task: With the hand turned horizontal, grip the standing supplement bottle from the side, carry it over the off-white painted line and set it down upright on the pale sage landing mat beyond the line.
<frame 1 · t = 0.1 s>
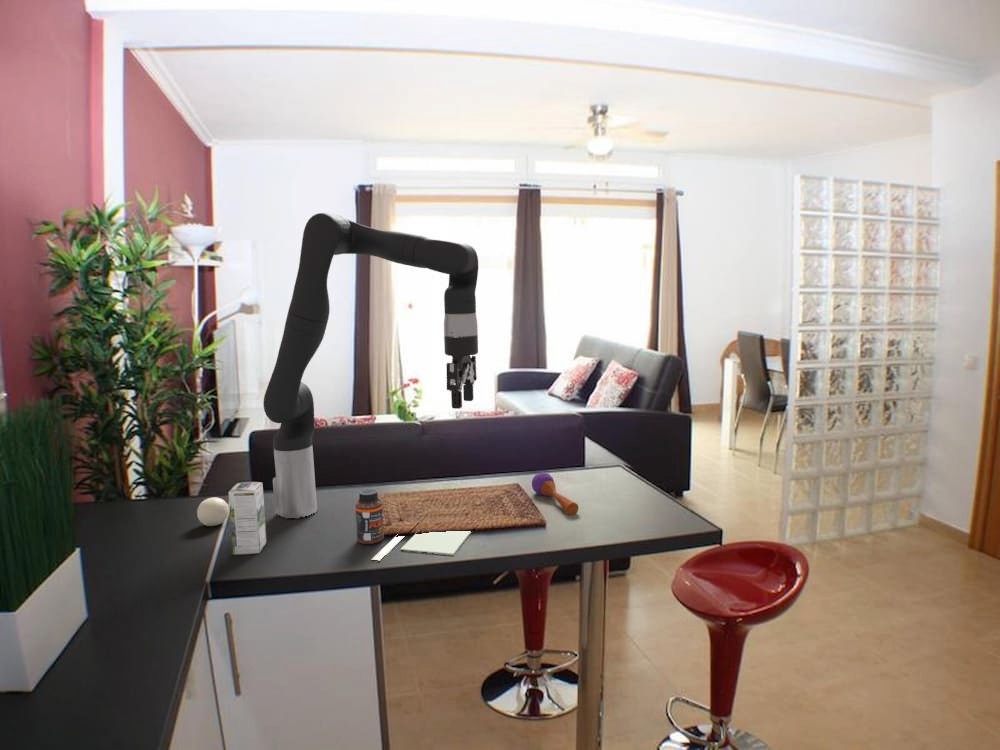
hand: (462, 404, 150), 29 cm above the worktop, tool pointing down, fingers open, 8 cm apart
landing mat: (439, 538, 147), on the worktop
supplement bottle: (370, 540, 148), on the worktop
syrup box: (250, 550, 144), on the worktop
purple and orange maraca: (554, 503, 169), on the worktop
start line: (397, 540, 147), on the worktop
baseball: (215, 525, 160), on the worktop
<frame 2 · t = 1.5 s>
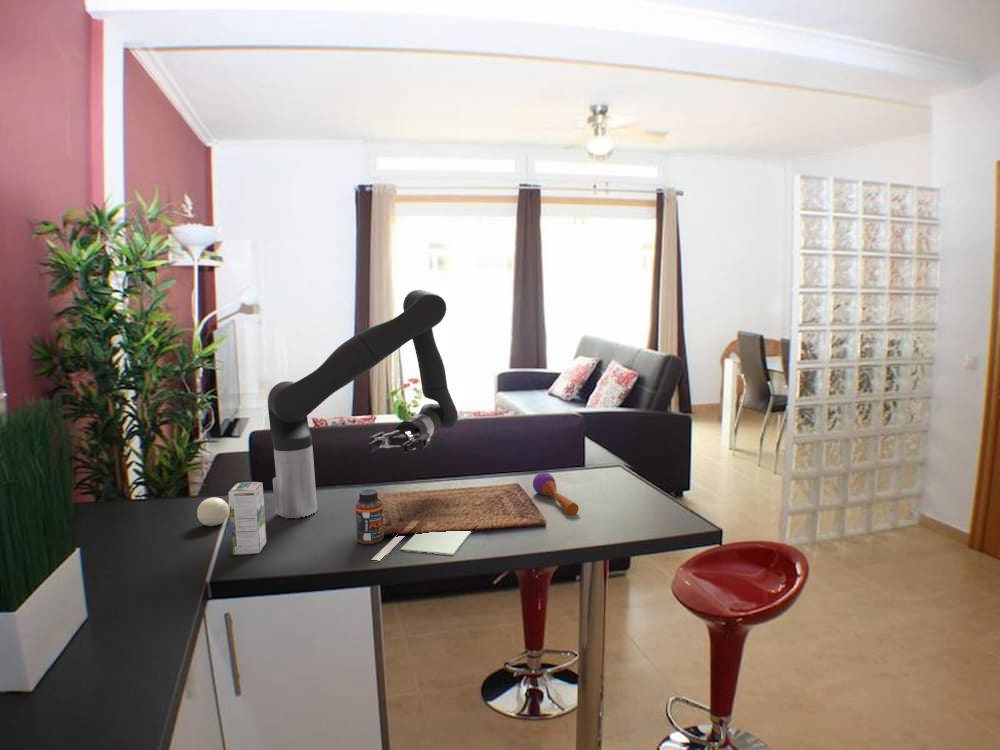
hand: (386, 448, 155), 18 cm above the worktop, tool horizontal, fingers open, 8 cm apart
nothing on the worktop moved.
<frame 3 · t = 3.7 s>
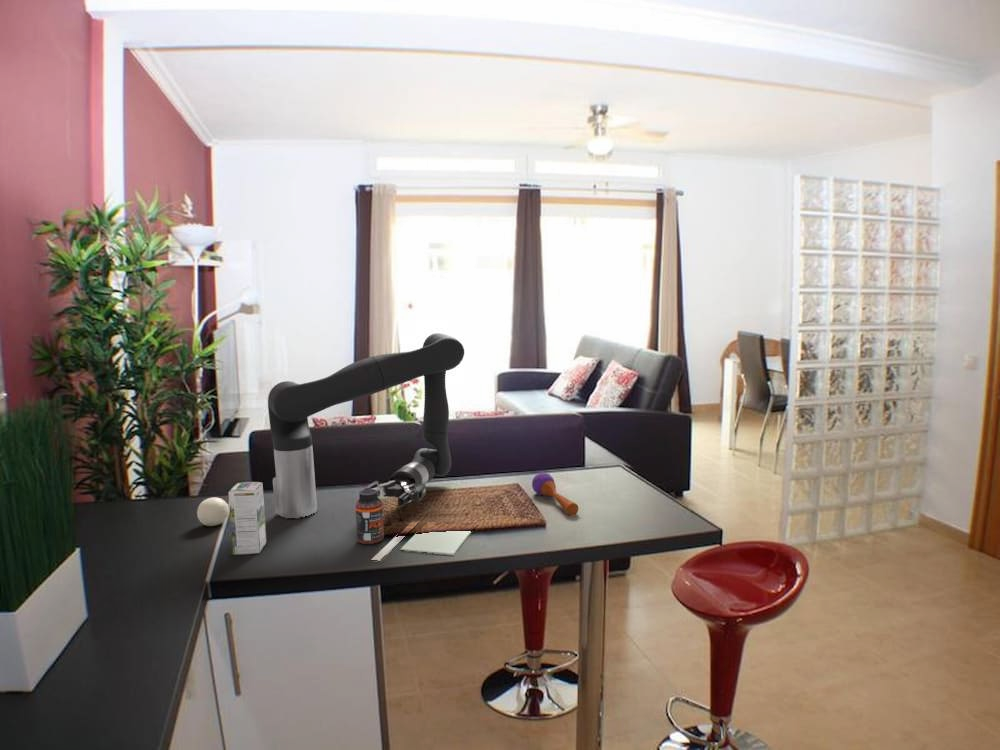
hand: (382, 501, 153), 7 cm above the worktop, tool horizontal, fingers open, 8 cm apart
nothing on the worktop moved.
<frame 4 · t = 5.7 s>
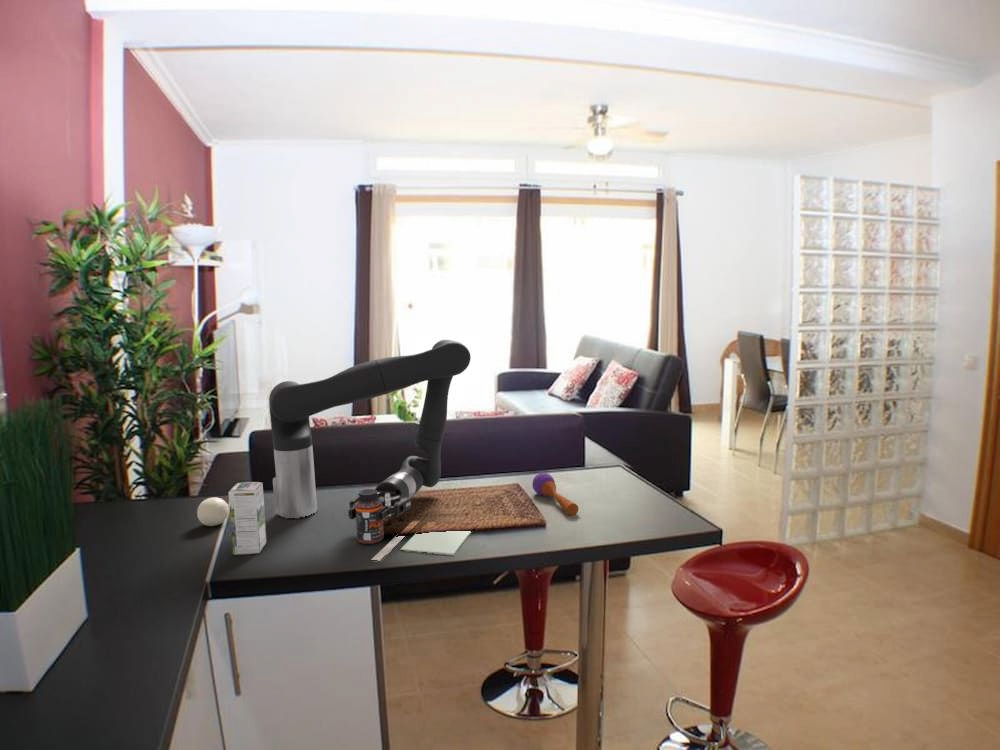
hand: (364, 516, 144), 7 cm above the worktop, tool horizontal, fingers closed on supplement bottle, 6 cm apart
supplement bottle: (370, 540, 148), on the worktop, touching gripper
everything else where it was.
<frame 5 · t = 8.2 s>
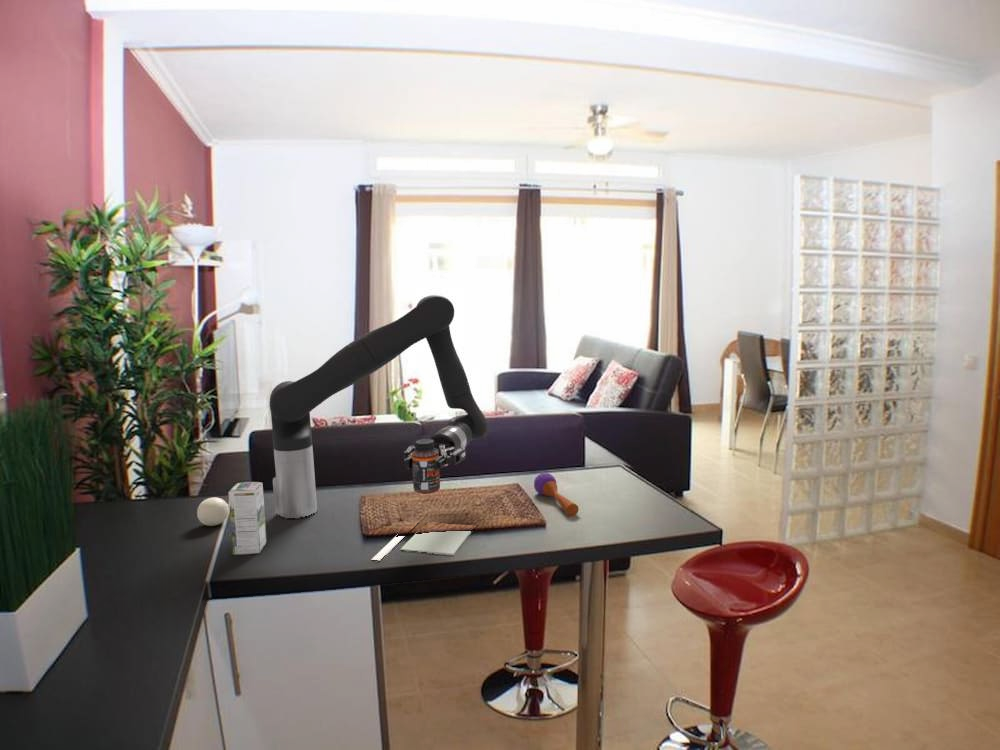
hand: (421, 465, 143), 18 cm above the worktop, tool horizontal, fingers closed on supplement bottle, 6 cm apart
supplement bottle: (427, 491, 146), point 11 cm above the worktop, touching gripper
everything else where it was.
when the fingers open (8 cm above the worktop, at t = 10.8 s): supplement bottle drops 1 cm, resting on landing mat.
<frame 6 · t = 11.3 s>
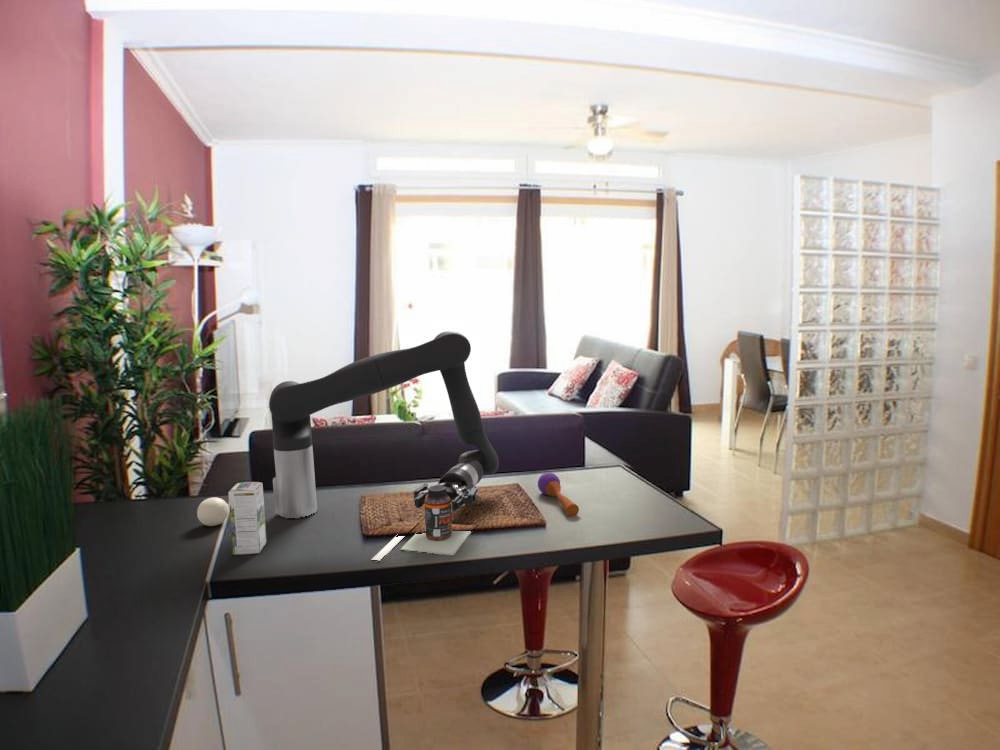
hand: (435, 505, 144), 8 cm above the worktop, tool horizontal, fingers open, 8 cm apart
supplement bottle: (439, 536, 148), resting on landing mat
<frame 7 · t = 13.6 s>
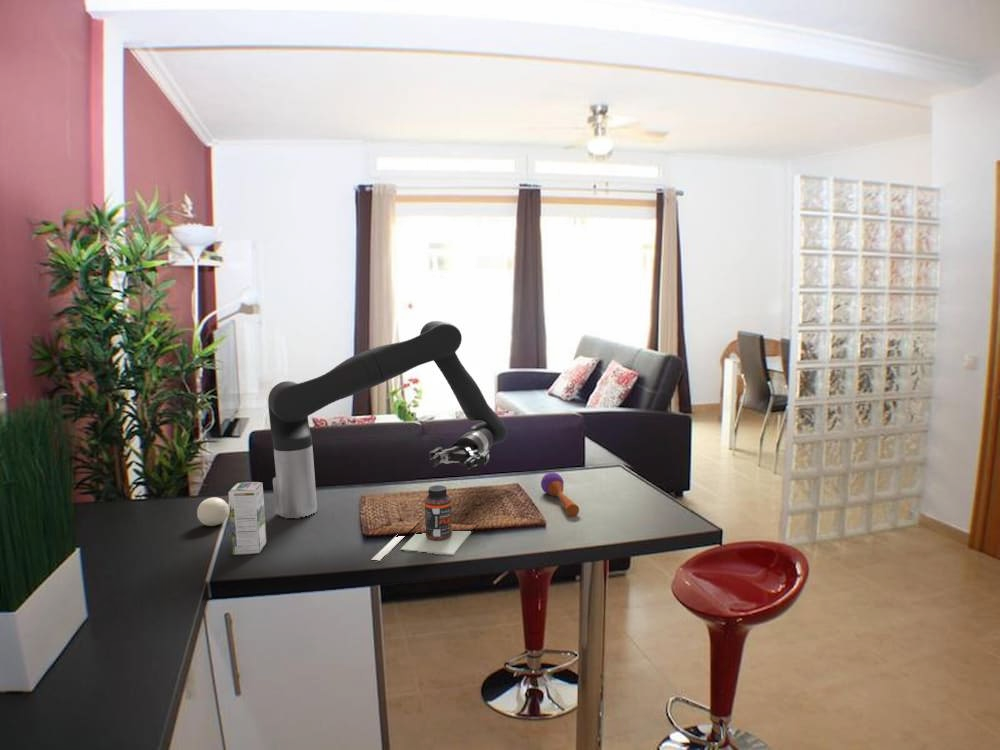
hand: (450, 464, 157), 14 cm above the worktop, tool horizontal, fingers open, 8 cm apart
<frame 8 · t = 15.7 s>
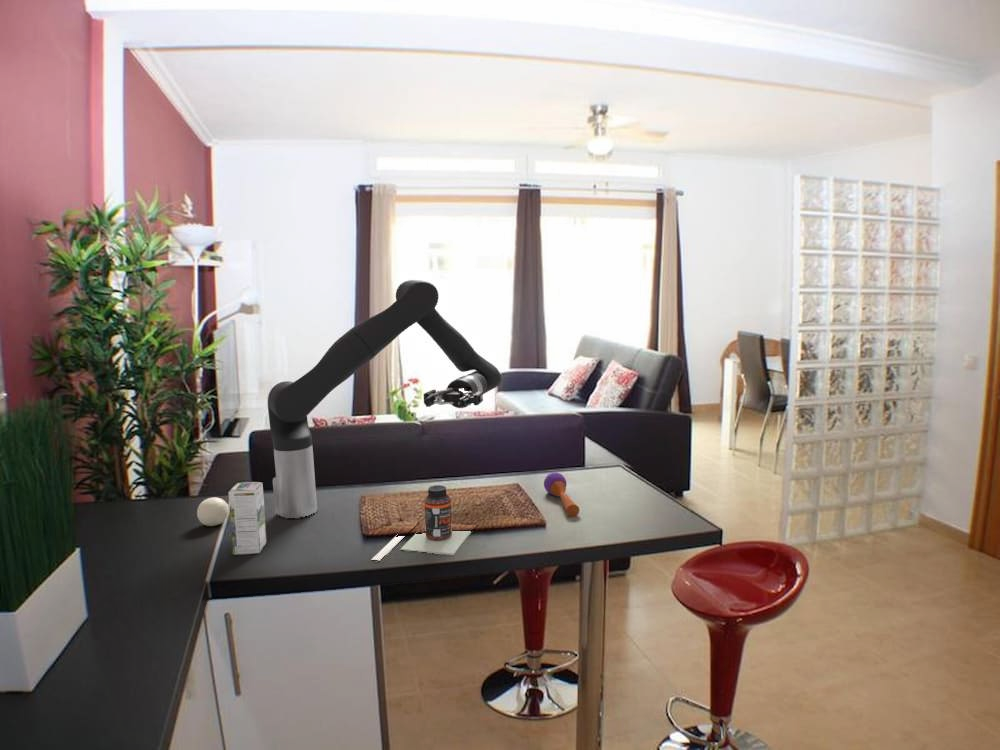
hand: (443, 403, 157), 28 cm above the worktop, tool horizontal, fingers open, 8 cm apart
at the end: supplement bottle inside the target area (0.3 cm from its centre), resting on landing mat; supplement bottle tilted 0°; the gripper is holding nothing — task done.
